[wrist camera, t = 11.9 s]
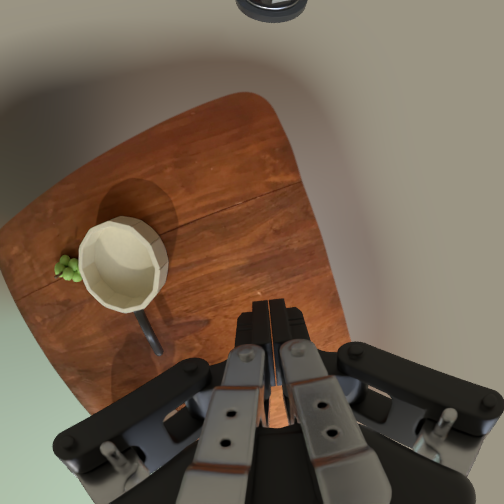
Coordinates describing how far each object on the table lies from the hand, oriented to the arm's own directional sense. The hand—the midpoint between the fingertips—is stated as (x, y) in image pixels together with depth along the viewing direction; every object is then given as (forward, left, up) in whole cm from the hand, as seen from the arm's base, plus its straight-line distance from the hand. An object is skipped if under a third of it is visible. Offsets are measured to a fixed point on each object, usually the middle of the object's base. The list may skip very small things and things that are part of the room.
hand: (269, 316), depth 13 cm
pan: (-7, -21, -28) cm, 35 cm away
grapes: (-19, -28, -28) cm, 44 cm away
